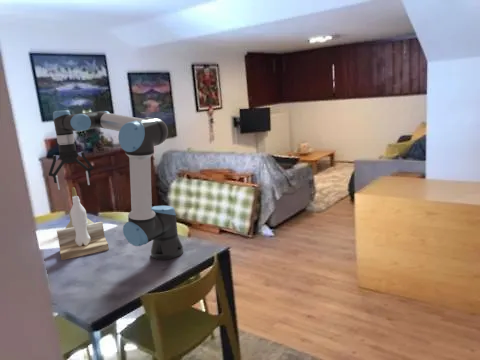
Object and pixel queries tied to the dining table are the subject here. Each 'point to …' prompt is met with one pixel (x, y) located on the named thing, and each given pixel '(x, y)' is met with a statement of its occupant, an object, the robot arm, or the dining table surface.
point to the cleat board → (73, 250)
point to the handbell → (70, 211)
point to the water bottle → (79, 222)
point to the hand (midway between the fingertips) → (74, 186)
